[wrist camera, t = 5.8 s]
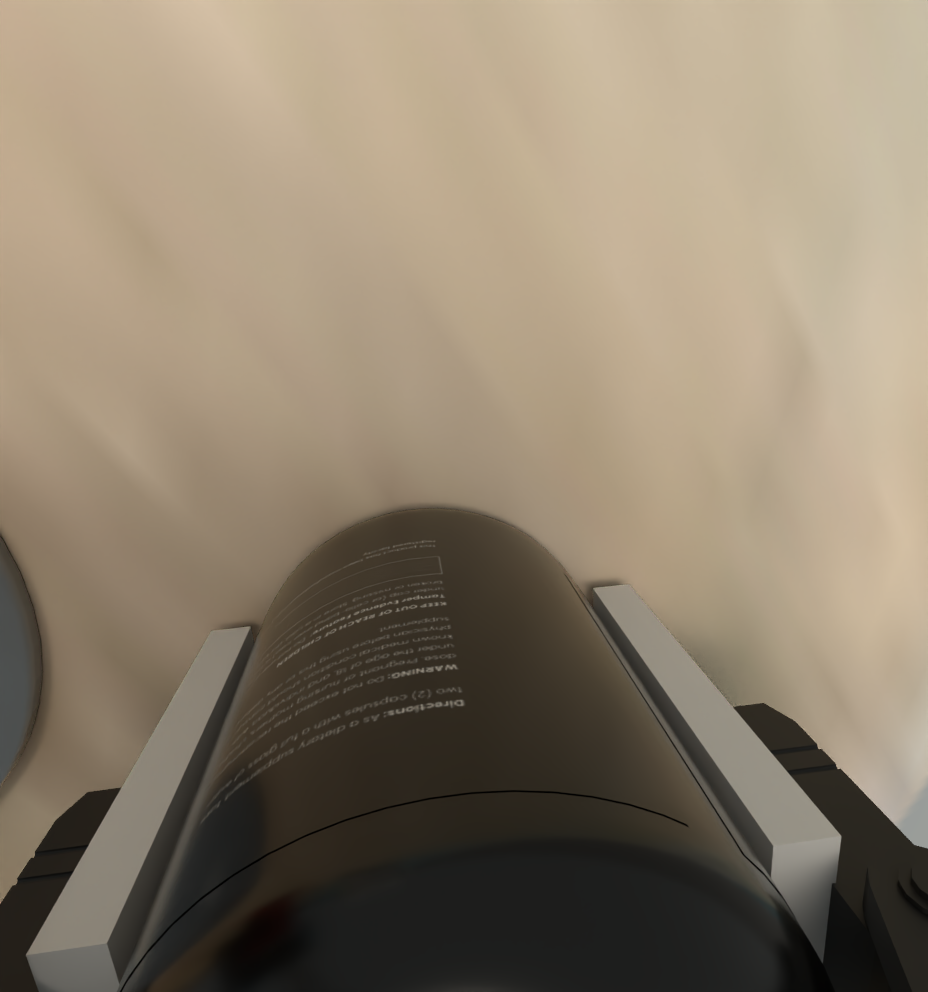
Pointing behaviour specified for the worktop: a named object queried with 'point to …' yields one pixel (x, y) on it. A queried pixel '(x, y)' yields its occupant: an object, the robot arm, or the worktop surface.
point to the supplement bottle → (455, 798)
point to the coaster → (16, 664)
